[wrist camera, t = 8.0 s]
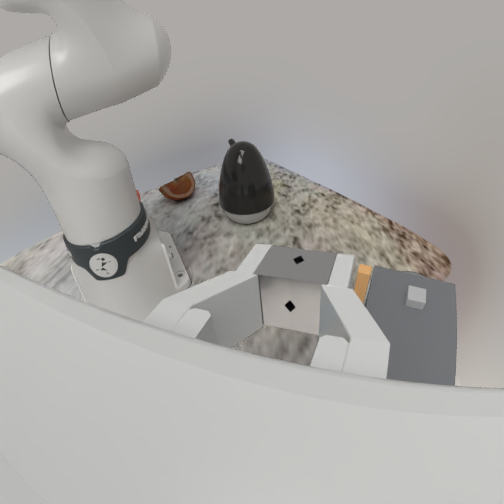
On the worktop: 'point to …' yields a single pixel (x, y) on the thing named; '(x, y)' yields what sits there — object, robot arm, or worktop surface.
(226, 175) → the black glossy egg shape
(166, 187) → the fruit slice
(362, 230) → the worktop surface
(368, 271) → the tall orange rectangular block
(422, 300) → the gray box with nub
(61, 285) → the worktop surface
